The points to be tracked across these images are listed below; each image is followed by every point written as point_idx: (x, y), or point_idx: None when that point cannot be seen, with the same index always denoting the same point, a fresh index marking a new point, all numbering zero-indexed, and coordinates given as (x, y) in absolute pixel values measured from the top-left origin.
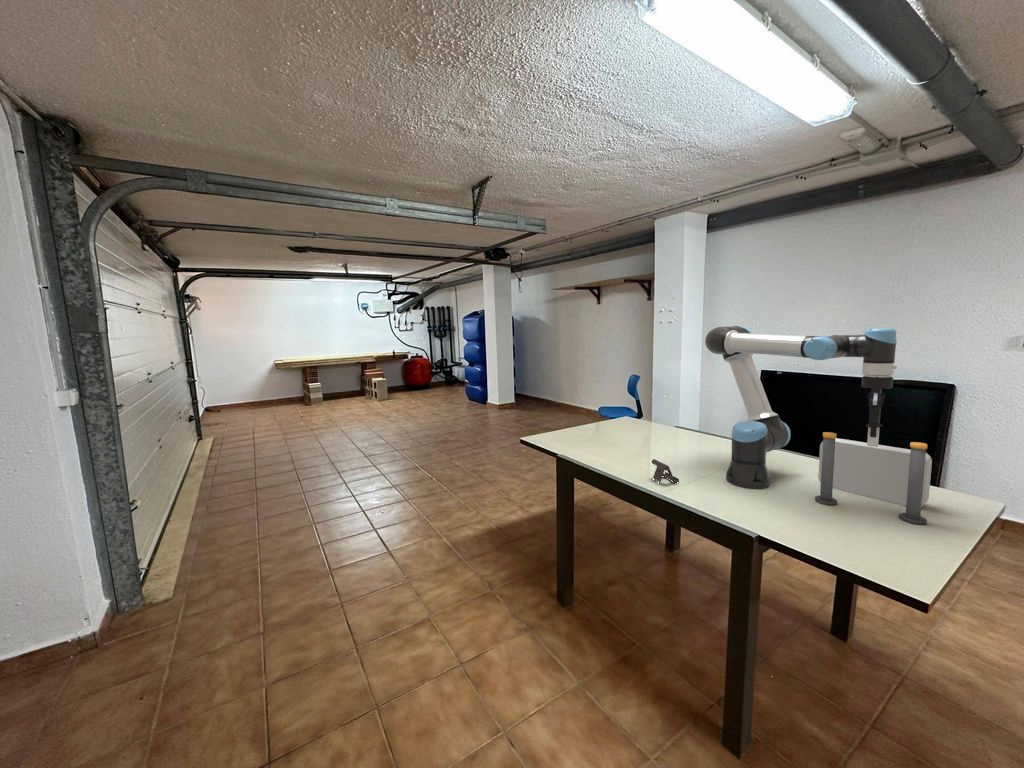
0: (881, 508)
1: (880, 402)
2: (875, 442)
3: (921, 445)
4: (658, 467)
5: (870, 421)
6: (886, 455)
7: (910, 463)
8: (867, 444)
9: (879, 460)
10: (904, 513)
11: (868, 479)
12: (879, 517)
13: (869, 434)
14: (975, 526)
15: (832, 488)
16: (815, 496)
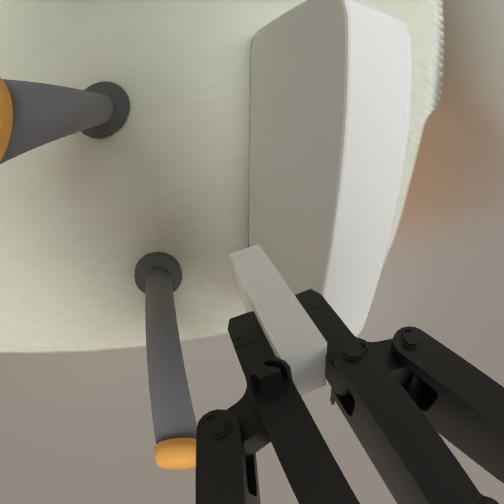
0: (178, 210)
1: (501, 480)
2: (246, 304)
3: (163, 467)
4: None
5: (199, 475)
6: (313, 255)
7: (153, 386)
8: (232, 259)
9: (301, 222)
10: (167, 261)
11: (268, 167)
12: (111, 232)
13: (256, 315)
14: (226, 327)
15: (94, 126)
16: (99, 82)
